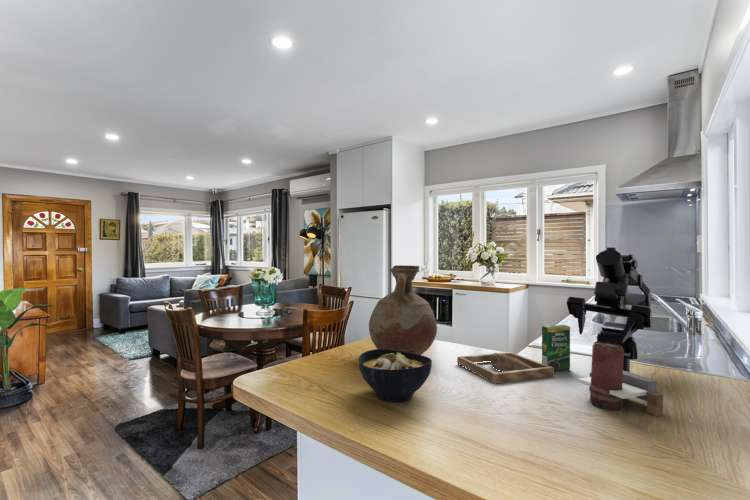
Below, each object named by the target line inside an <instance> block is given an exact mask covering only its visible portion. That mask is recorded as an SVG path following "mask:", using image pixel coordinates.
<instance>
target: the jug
mask: <svg viewBox="0 0 750 500" xmlns="http://www.w3.org/2000/svg"><path fill="white" fill-rule="evenodd" d="M389 272H391V274H392V277H394V279H395V287H394V290H393V291H392V292H391V293H389V294H387V295H385V296H384V297H382V298H380V299H379V300H378V301H377V303H376V304H375V307H374V309H373V311H372V313H371V315H370V317H369V321H368V332H369V336H370V339H371V341H372V343H373V345H374V346H375V348H376V349H389V350H396V351H401V352H407V353H413V354H418V355H422V356H423V354H424V353H425V352H427V351H428V350H429V349H430V347H431V346H432V345H433V343H434V341H435V339H436V337H437V331H438V324H437V320H436V316H435V313H434V312H433V310H432V307H431V305H430V304H429V302H428V301H427V300H426V299H425V298H423V297H421V296H420V295H418V294H417V293H416V292H415V291H414V289H413V285H412V284H413V279H414V278H415V277H416V275H417V274H418V273H419V272H420V266H419V265H411V264H409V265H406V264H405V265H402V264H401V265H400V264H399V265H393V266H392V268H389Z"/></svg>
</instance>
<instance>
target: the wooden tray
mask: <svg viewBox="0 0 750 500" xmlns="http://www.w3.org/2000/svg"><path fill="white" fill-rule="evenodd" d="M498 353H499V354H505V355H507V356H508V355H511V356H512V357H514V358H516V359H518V360H520V361H521V362H523V363H525V364H527V365H530V366H532V367H533V368H532V369H523V370H514V371H506V372H500V371H498V372H496V371H494V370H491V369H489V368H487V367H485V366H482V365H481V364H476V363H474V362H483V361H491V357H490V355H491V354H492V353H483V354H475V355H474V354H473V355H463V356H457V358H456V359H457V362H456V363H458V364H460V365H462V366H464V367H466V368H467V369H470V370H471V371H473V372H475V373H477V374H479V375H481V376H483V377H485V378H487V379H488V381H489V380H490V382H491V381H492V382H491V383H493V382H494V383H493V384H495V383H496V384H502V383H503V382H504V383H511V382H510V381H512V382H517V381H516V380H519V381H525V380H524V379H527V380H532V379H531V378H535V379H541V378H540V377H543V378H548V377H550V376H551V377H554V376H555V370H554V367H551V366H548V365H545V364H543V363H542V362H540V361H537V360H534V359H531V358H528V357H525V356H523V355H520V354H517V353H514V352H512V351H507V352H498ZM467 369H466V370H467ZM471 371H470V372H471ZM473 372H472V373H473ZM475 373H474V374H475ZM477 374H476V375H477ZM479 375H478V376H479ZM481 376H480V377H481ZM483 377H482V378H483ZM485 378H484V379H485ZM487 379H486V380H487Z"/></svg>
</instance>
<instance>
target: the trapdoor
mask: <svg viewBox="0 0 750 500" xmlns="http://www.w3.org/2000/svg"><path fill="white" fill-rule="evenodd" d="M577 382H578V383H580V384H583V385H585V386H588V387H589V386H590V387H591V377H590V376H587V377H579V378H577ZM657 384H658V380H657V379H653V378H651V377H650V378H649V377H646V376H643V375H639V374H638V373H633V372H627V371H624V370H623V382H622V390H618V391H613V390H610V394H611V395H614V396H617V397H619V398H622V400H623V399H631V398H637V399H639V400H642V401H643V402H647V392H656V393H658V391H657V389H658V388H657V386H658V385H657Z"/></svg>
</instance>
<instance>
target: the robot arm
mask: <svg viewBox="0 0 750 500" xmlns="http://www.w3.org/2000/svg"><path fill="white" fill-rule="evenodd" d="M595 261H596V264H597V267H598V271H599V275H600V276H601V277H603V278H602V281H596V282H595V285H594V291H593V294H594V295H595V296H594V298H593V299H594V302H596V303H589V302H586V297H583V296H582V297H581V296H573V295H570V296H568V298H567V299H566V306H567V309H568V313H569V315H571V316H573V318H575V319H577V324H578V334H579V335H583V331H584V330H585V329H584V328H585V324H586V319H587V318H586V316H587V312H593V313H599V314H603V315H606V316H614V317H616V318H615V319H614V320H613V322H612V321H605V322H604V324H603V326H602V327H601V330H600V332H598V333H597V335H596V336H597V337H596V342H597V341H602V342H610V343H615V344H619V345H621V346H622V348H623V350H624V360H623V370H624V371H627V372H630V370H631V369H630V366H631V363H630V362H631V361H633V360H638V358H639V355H638V352H639V351H638V345H637V342H636V341H635V337H633V334H634V333H635V332H637V331H638V330H644V328H646V329H649V328H651V327H652V323H653V315H652V314H653V313H652V308H651V307H652V296H651V295H652V294H651V289H650V288H649V287H648V285H646V283H645V282H644V279H643V274H641V273H639V271H638V270H637V269H638V267H639V262H638V261H637V259H636V258H635V257H634V255H633V254H629V253H625V254H623V253H622V254H621V253H620V252H619V251H618V250H617V249H616V247H614V246H613V247H609V246H608V247H606V249H605V250H602V251H600V252H599V253H598V254H596V256H595ZM629 286H630V287H631V286H634V287H638V288H639V289H640V291H641V293H640V292H629ZM630 373H631V372H630Z"/></svg>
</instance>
